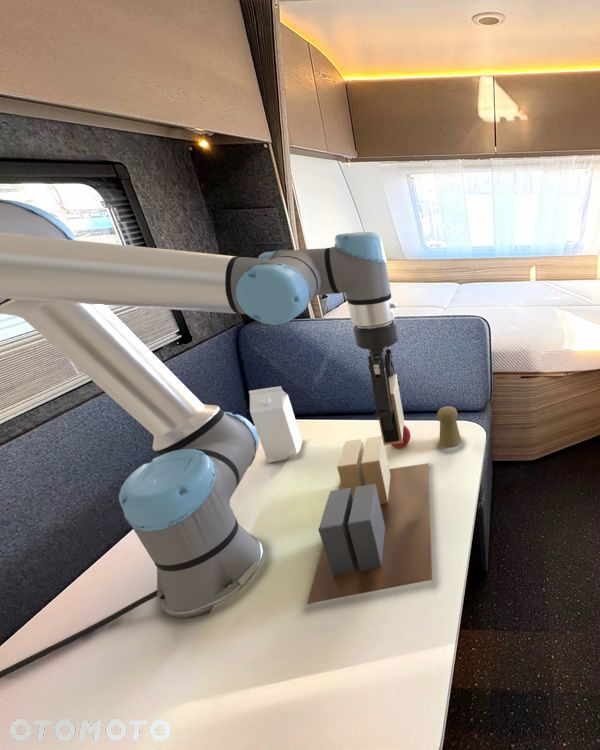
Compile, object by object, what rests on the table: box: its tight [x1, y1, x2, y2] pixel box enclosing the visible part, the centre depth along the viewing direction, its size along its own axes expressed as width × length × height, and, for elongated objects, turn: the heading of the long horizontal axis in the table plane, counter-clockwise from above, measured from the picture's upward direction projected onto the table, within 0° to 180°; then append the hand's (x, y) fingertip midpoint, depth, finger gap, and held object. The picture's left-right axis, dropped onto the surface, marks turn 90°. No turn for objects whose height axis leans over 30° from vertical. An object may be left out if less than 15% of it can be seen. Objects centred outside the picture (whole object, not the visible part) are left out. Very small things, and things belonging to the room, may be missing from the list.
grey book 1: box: [317, 488, 357, 576], centre depth 68 cm, size 4×9×11 cm, turn 11°
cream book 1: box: [336, 438, 366, 499], centre depth 83 cm, size 4×9×11 cm, turn 11°
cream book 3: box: [377, 373, 405, 446], centre depth 78 cm, size 4×9×11 cm, turn 11°
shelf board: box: [307, 463, 433, 605], centre depth 78 cm, size 20×32×1 cm, turn 11°
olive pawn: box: [436, 405, 462, 449], centre depth 100 cm, size 6×6×11 cm
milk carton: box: [248, 385, 303, 464], centre depth 98 cm, size 7×7×19 cm
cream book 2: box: [361, 435, 390, 504], centre depth 83 cm, size 4×9×11 cm, turn 11°
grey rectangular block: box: [348, 484, 385, 571], centre depth 69 cm, size 4×9×11 cm, turn 11°
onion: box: [390, 424, 412, 449], centre depth 100 cm, size 6×6×8 cm
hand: (393, 427), depth 79 cm, fingers closed on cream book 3, 9 cm apart
